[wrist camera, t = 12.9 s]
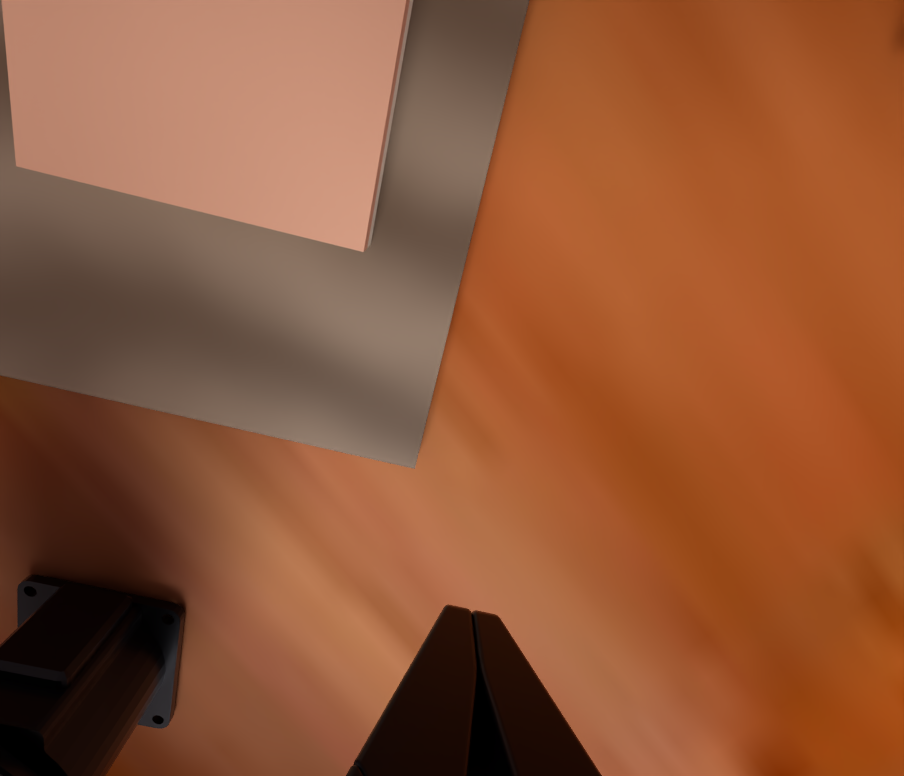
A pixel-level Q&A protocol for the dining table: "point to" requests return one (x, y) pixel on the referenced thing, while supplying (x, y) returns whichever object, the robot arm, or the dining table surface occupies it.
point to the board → (268, 271)
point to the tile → (214, 104)
